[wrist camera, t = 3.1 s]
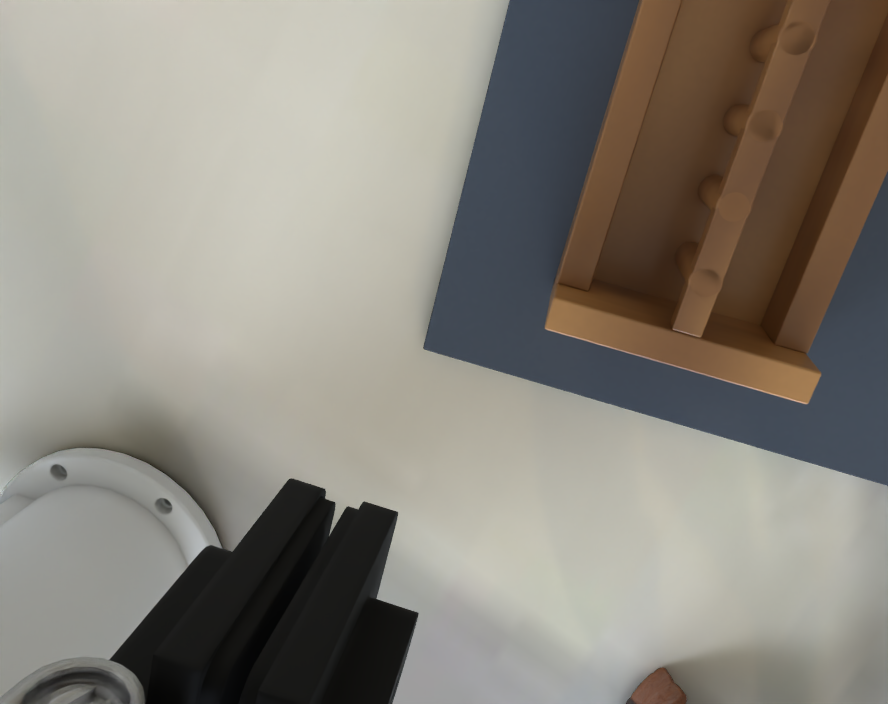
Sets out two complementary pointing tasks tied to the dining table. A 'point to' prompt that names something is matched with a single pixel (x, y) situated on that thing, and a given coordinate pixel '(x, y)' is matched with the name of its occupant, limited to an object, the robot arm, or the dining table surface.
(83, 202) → the dining table surface
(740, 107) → the rack
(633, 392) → the mat
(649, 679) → the pottery mug
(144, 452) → the dining table surface
